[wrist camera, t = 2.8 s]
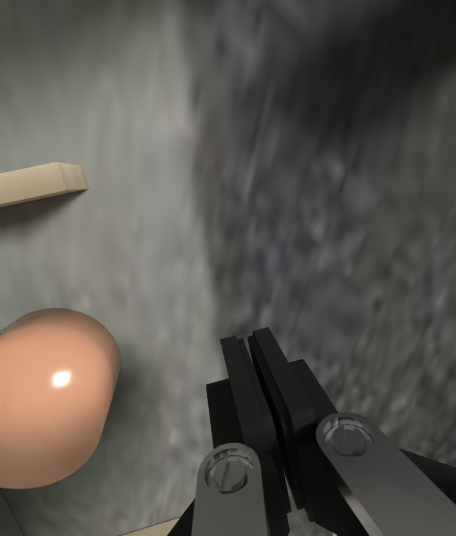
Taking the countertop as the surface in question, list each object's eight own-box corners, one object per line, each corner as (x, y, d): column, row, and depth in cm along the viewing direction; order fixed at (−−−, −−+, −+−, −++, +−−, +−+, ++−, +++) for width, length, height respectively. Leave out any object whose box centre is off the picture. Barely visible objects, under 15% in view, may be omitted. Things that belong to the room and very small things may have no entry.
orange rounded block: (135, 395, 18) (121, 463, 14) (22, 426, 17) (-30, 507, 13) (100, 294, 16) (73, 335, 12) (-25, 325, 16) (-102, 379, 11)
